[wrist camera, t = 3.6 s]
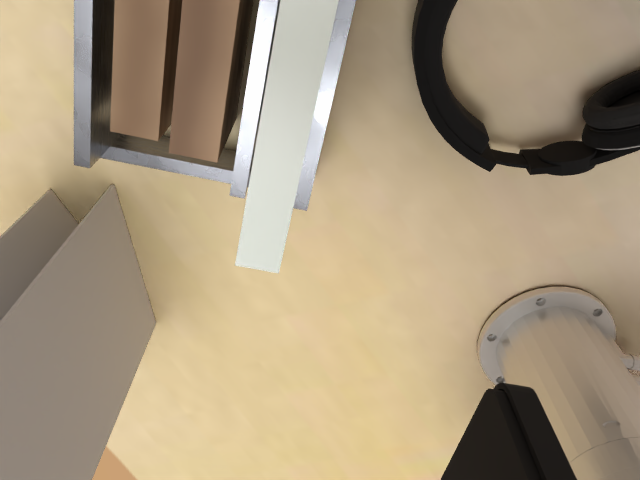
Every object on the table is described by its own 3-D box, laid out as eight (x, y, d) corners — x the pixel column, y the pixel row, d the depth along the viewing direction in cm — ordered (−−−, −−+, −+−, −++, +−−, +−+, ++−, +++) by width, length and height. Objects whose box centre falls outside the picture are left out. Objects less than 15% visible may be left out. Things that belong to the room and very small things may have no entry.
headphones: (731, 181, 36) (418, 198, 39) (676, 140, 42) (414, 157, 46) (820, -150, 27) (410, -95, 30) (734, -135, 34) (406, -91, 37)
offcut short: (201, -71, 36) (174, -71, 29) (183, 107, 41) (158, 141, 35) (154, -82, 35) (117, -85, 29) (143, 99, 41) (110, 131, 35)
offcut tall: (261, -56, 36) (246, -51, 28) (235, 119, 42) (217, 162, 34) (216, -67, 36) (188, -66, 28) (196, 110, 42) (168, 152, 34)
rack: (366, -93, 35) (378, -98, 28) (306, 177, 44) (303, 223, 37) (125, -156, 33) (74, -178, 26) (113, 138, 43) (73, 178, 36)
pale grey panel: (330, -39, 37) (340, -9, 19) (295, 131, 42) (278, 273, 25) (300, -46, 36) (284, -23, 19) (269, 126, 42) (235, 265, 25)
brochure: (47, 189, 45) (-334, 556, 19) (114, 183, 44) (-177, 546, 18) (98, 327, 52) (-126, 734, 26) (156, 322, 51) (-11, 729, 25)
